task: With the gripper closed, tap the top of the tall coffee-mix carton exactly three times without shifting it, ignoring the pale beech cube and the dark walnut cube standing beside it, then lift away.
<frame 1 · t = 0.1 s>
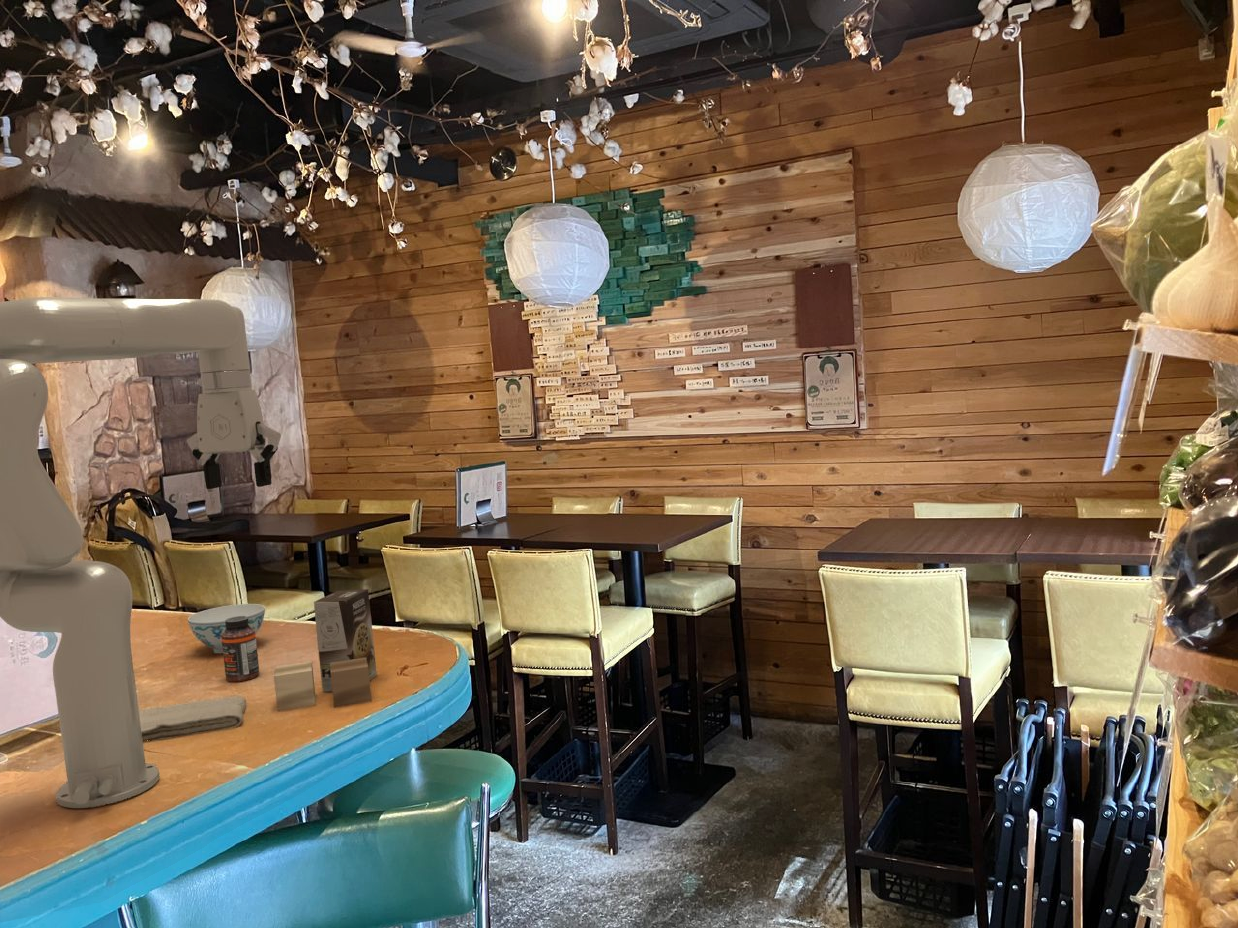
hand: (239, 486, 162), 37 cm above the counter, tool pointing down, fingers open, 9 cm apart
washcloth: (187, 728, 159), on the counter
beech cube: (297, 702, 166), on the counter
chinaware: (231, 649, 205), on the counter
walnut cube: (352, 699, 166), on the counter
supplement bottle: (243, 678, 183), on the counter
coffee box: (350, 684, 174), on the counter
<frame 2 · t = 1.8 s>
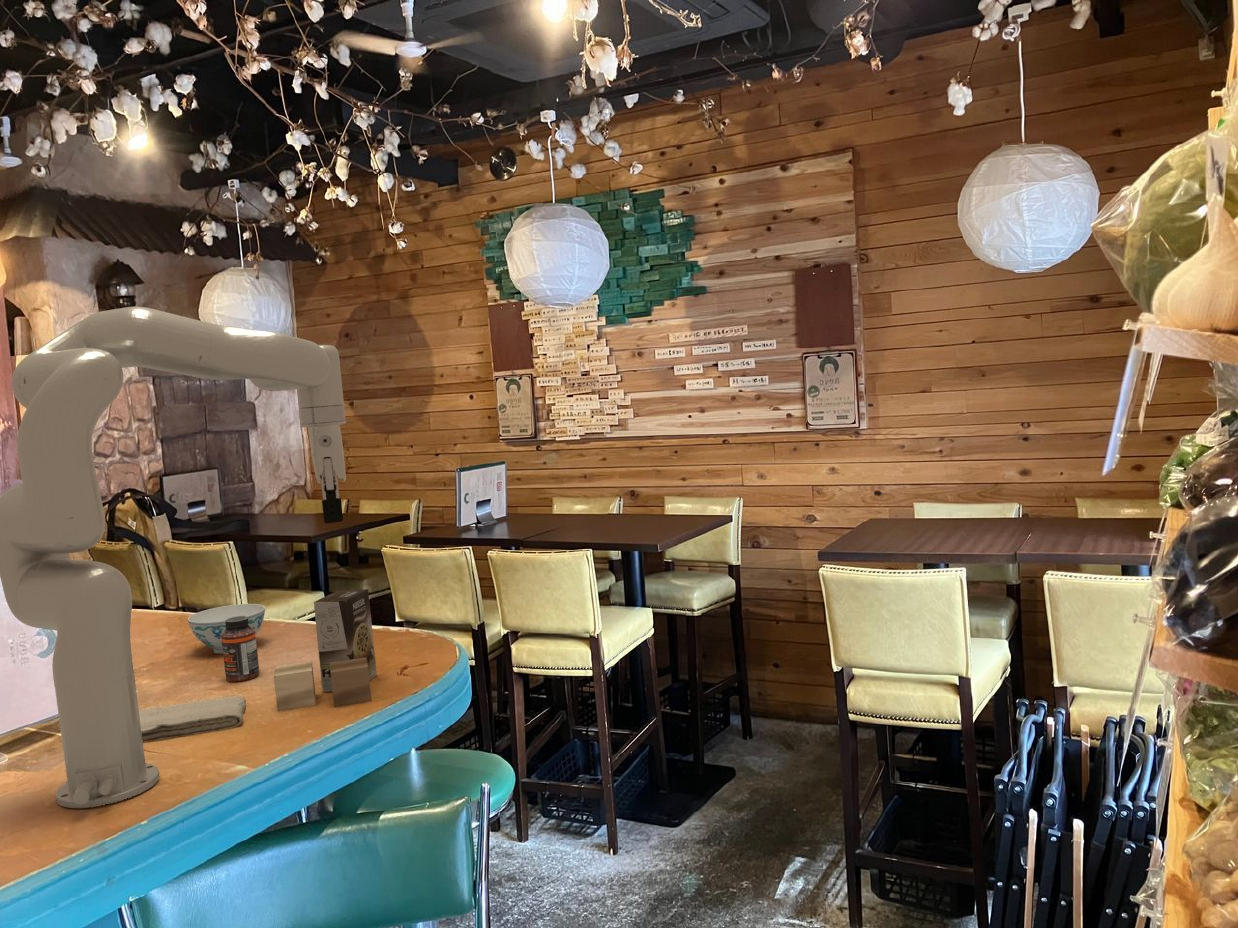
hand: (333, 521, 171), 29 cm above the counter, tool pointing down, fingers closed
nothing on the counter moved.
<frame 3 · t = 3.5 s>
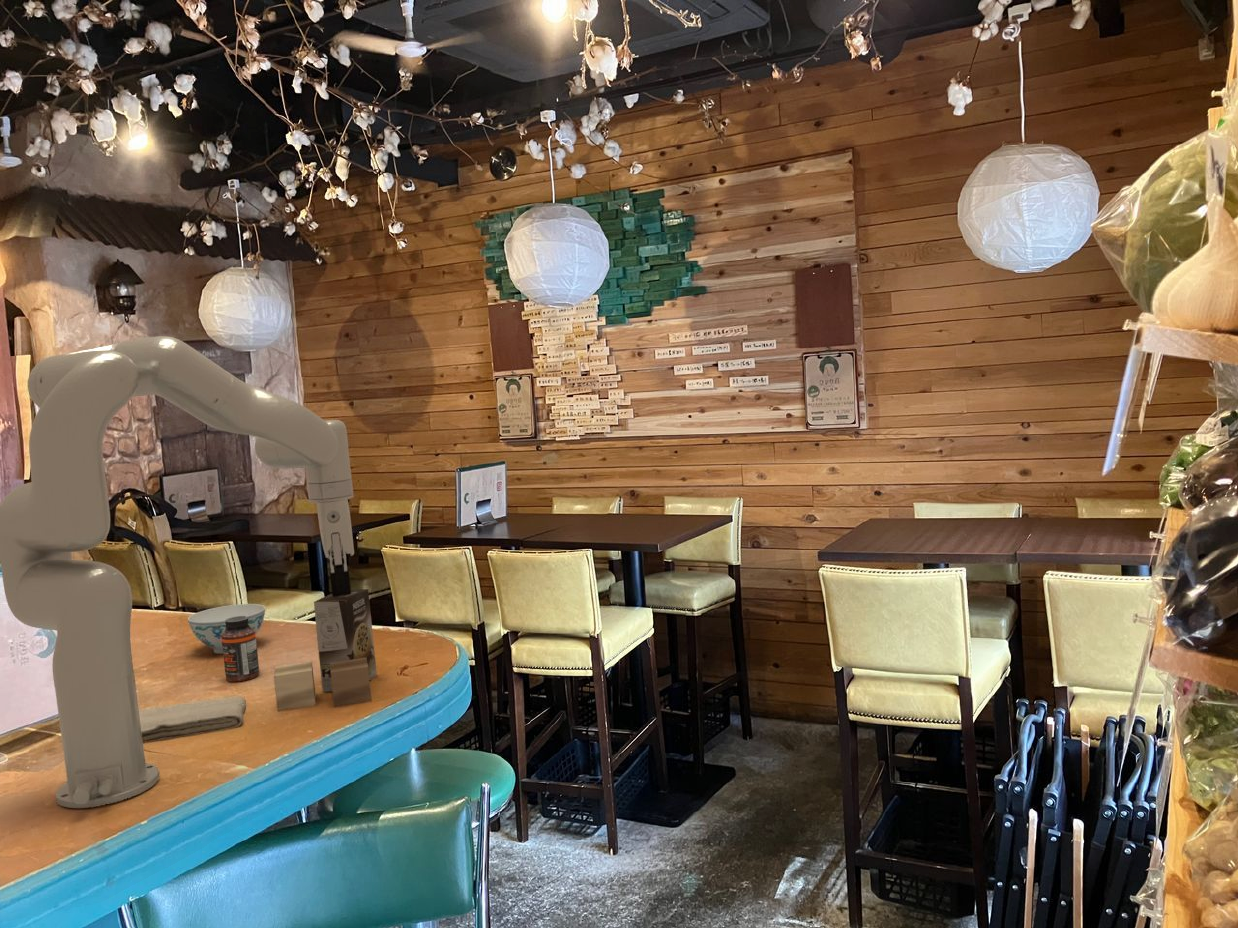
hand: (341, 594, 173), 16 cm above the counter, tool pointing down, fingers closed
coffee box: (350, 684, 174), on the counter, touching gripper
everything else where it was.
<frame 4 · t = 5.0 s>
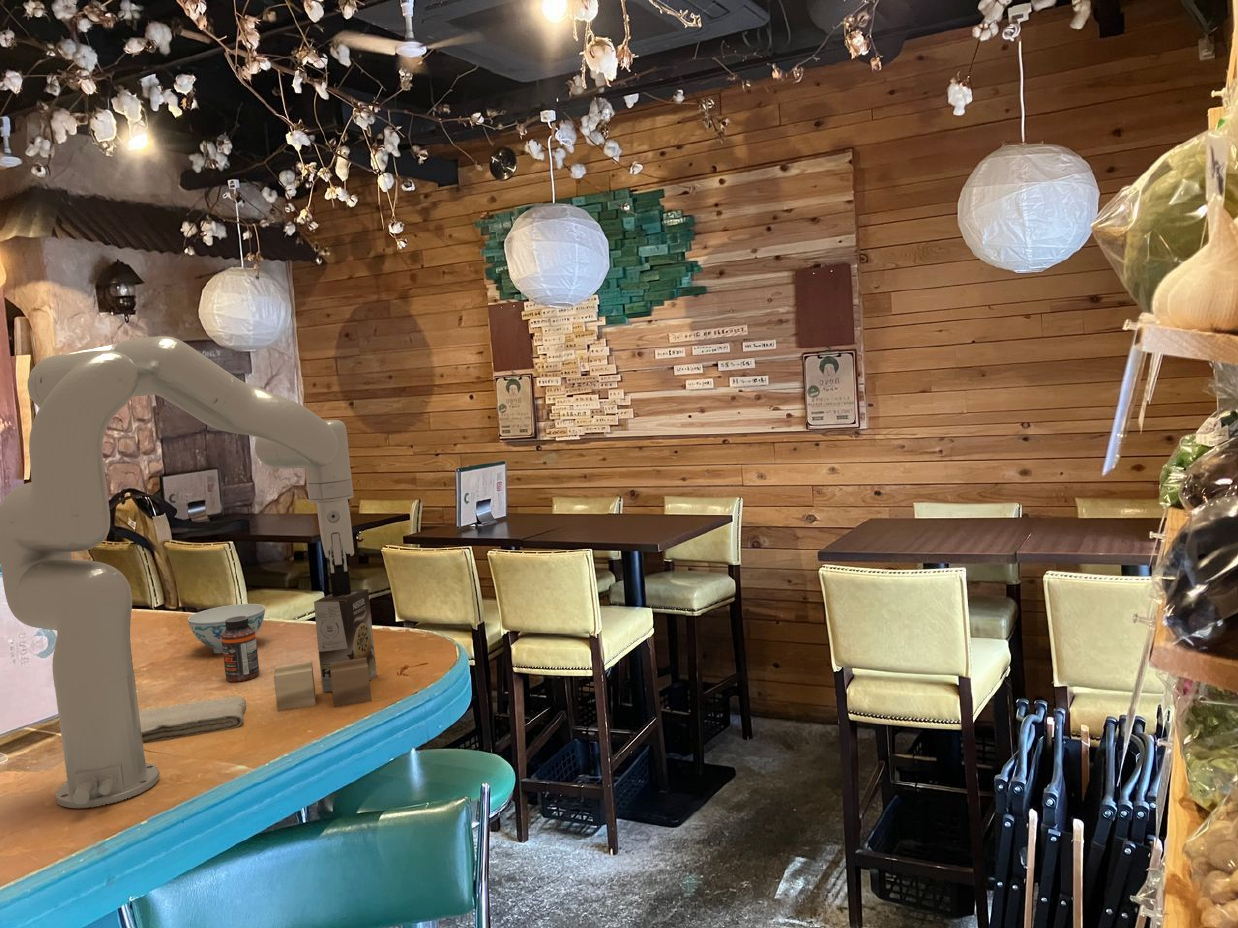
hand: (341, 594, 173), 16 cm above the counter, tool pointing down, fingers closed
nothing on the counter moved.
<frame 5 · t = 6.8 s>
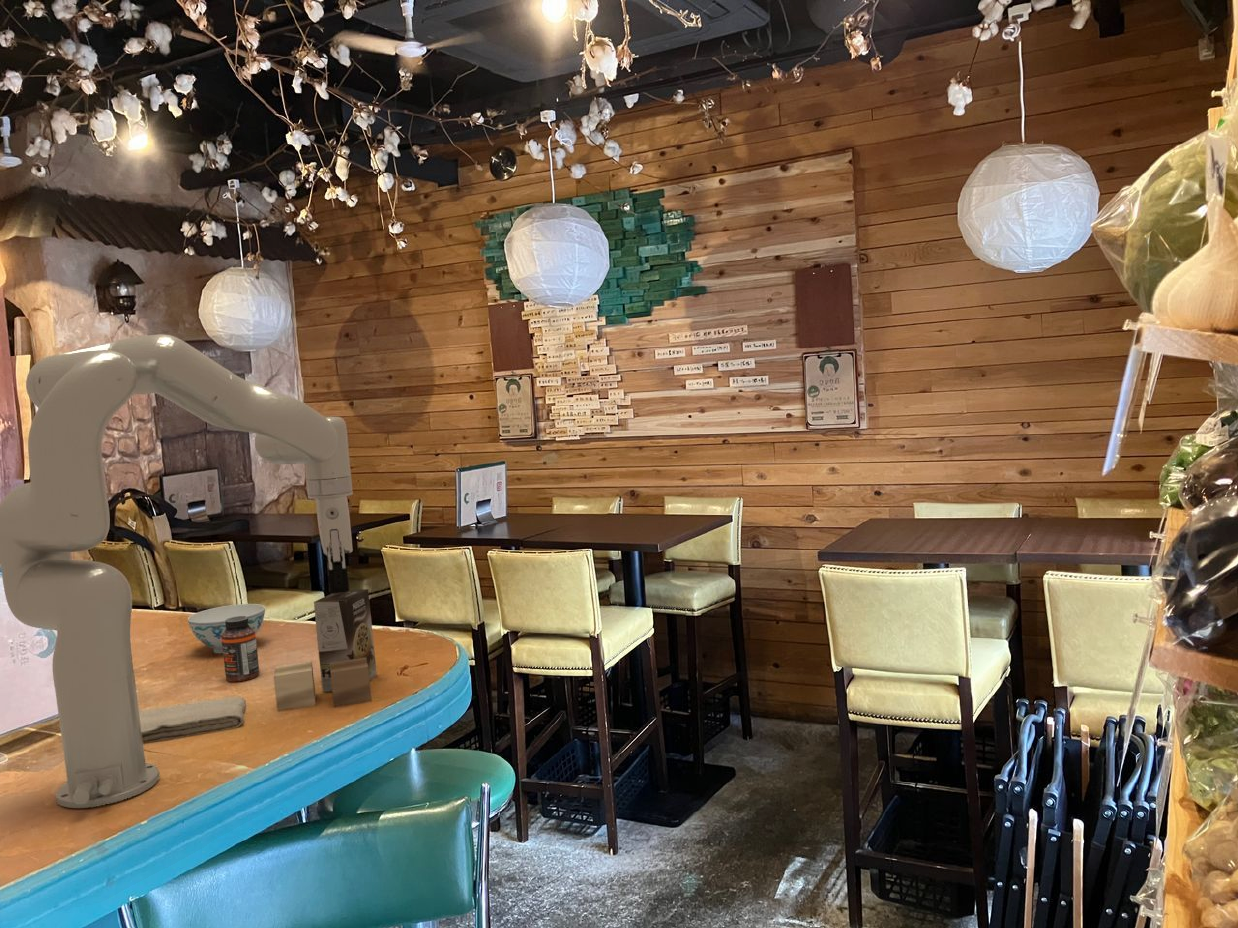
hand: (339, 591, 172), 17 cm above the counter, tool pointing down, fingers closed
coffee box: (350, 684, 174), on the counter
everything else where it was.
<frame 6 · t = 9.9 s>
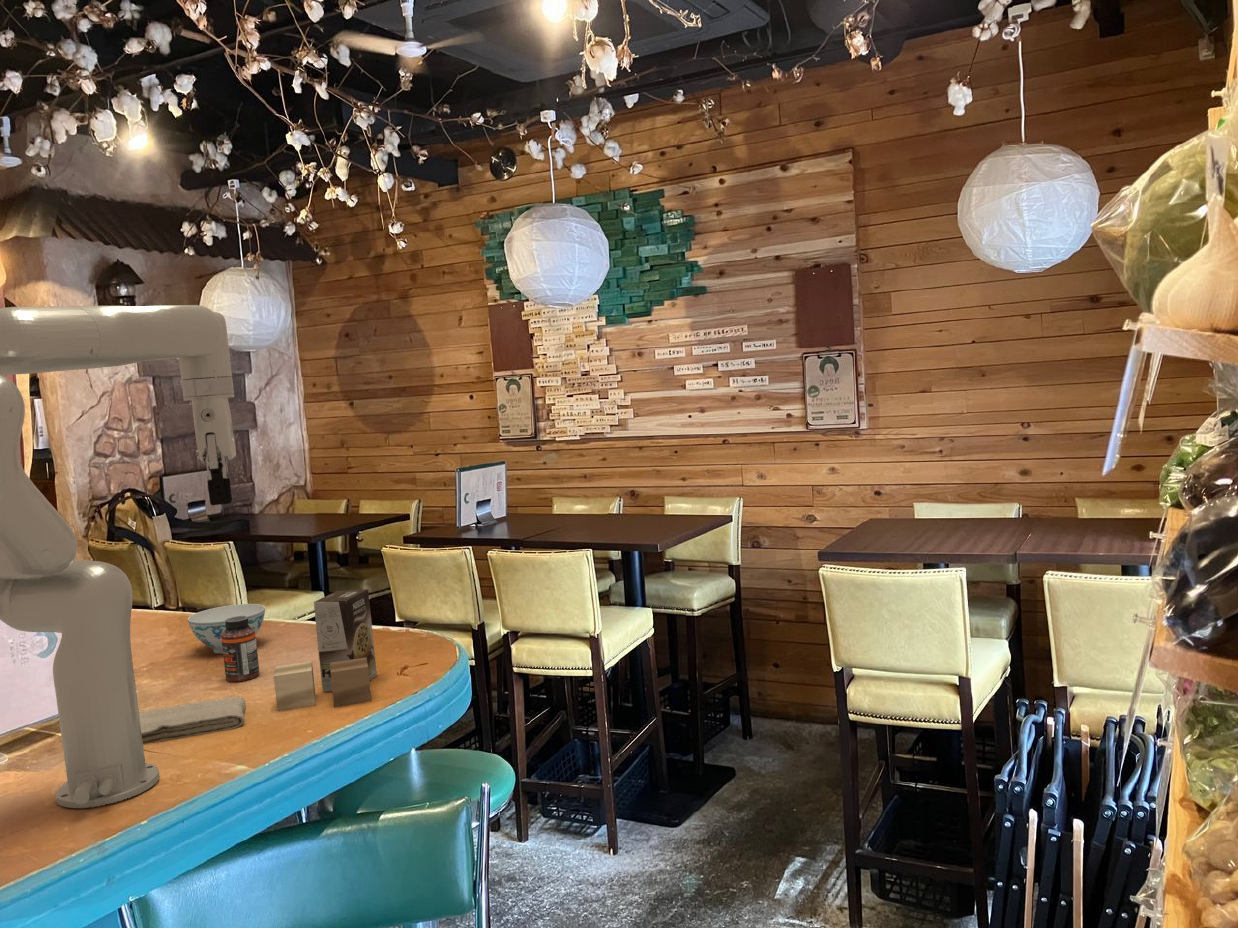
hand: (221, 503, 158), 35 cm above the counter, tool pointing down, fingers closed
nothing on the counter moved.
at the end: coffee box moved 0.2 cm from its start; coffee box tilted 0°; coffee box touching counter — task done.
